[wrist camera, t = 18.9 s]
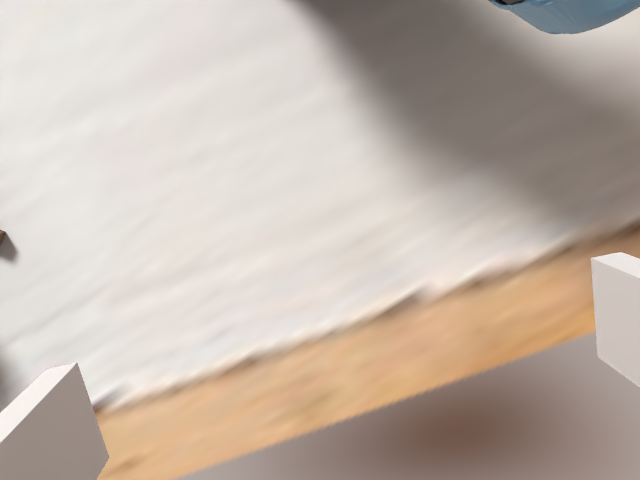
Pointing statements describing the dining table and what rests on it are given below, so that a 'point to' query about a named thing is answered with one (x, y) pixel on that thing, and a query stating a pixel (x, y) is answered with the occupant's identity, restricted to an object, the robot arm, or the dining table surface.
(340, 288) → the dining table surface
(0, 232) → the frame
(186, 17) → the dining table surface
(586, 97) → the dining table surface
